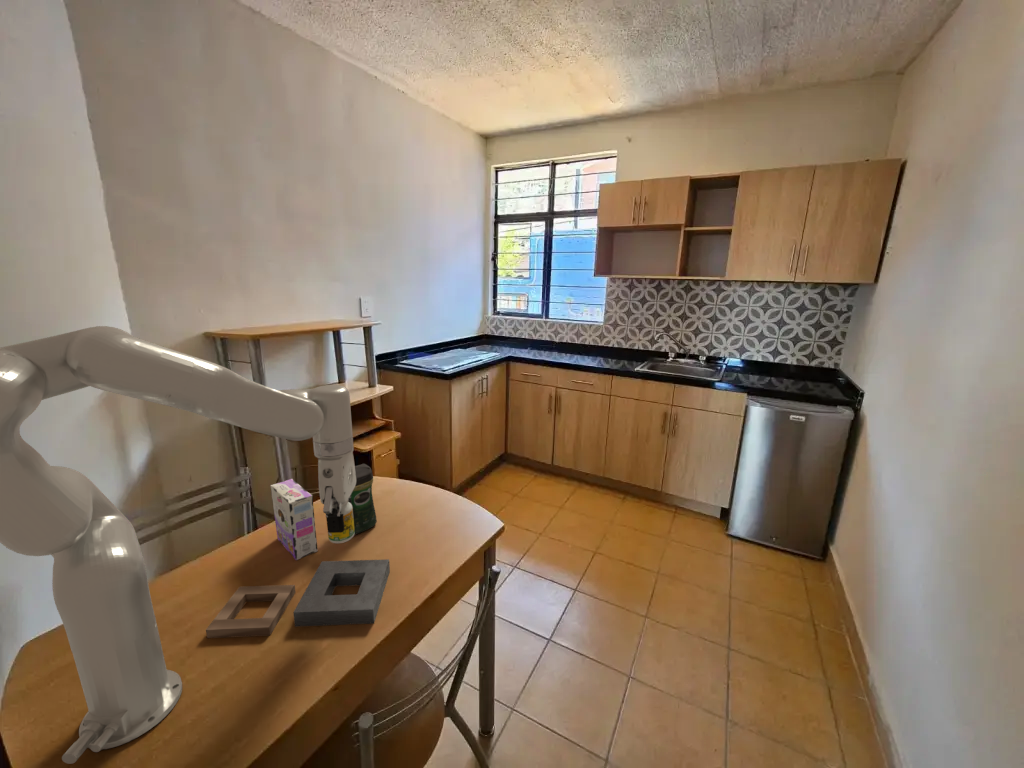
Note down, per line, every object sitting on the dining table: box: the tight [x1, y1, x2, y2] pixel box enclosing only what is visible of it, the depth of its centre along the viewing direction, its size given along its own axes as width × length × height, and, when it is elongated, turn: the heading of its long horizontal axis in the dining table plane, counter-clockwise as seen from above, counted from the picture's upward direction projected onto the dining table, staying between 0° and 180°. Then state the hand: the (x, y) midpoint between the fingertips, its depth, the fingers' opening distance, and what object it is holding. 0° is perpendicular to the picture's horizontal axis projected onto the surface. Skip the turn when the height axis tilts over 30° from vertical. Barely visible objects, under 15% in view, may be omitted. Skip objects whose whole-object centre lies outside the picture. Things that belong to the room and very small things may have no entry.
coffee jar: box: [348, 463, 378, 536], centre depth 119 cm, size 10×8×19 cm
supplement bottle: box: [325, 498, 356, 544], centre depth 89 cm, size 5×5×10 cm
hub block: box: [292, 558, 391, 628], centre depth 94 cm, size 16×16×4 cm
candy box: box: [270, 478, 319, 561], centre depth 110 cm, size 14×6×16 cm, turn 47°
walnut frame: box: [205, 584, 296, 639], centre depth 89 cm, size 12×12×2 cm
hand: (340, 522), depth 90 cm, fingers closed on supplement bottle, 5 cm apart
